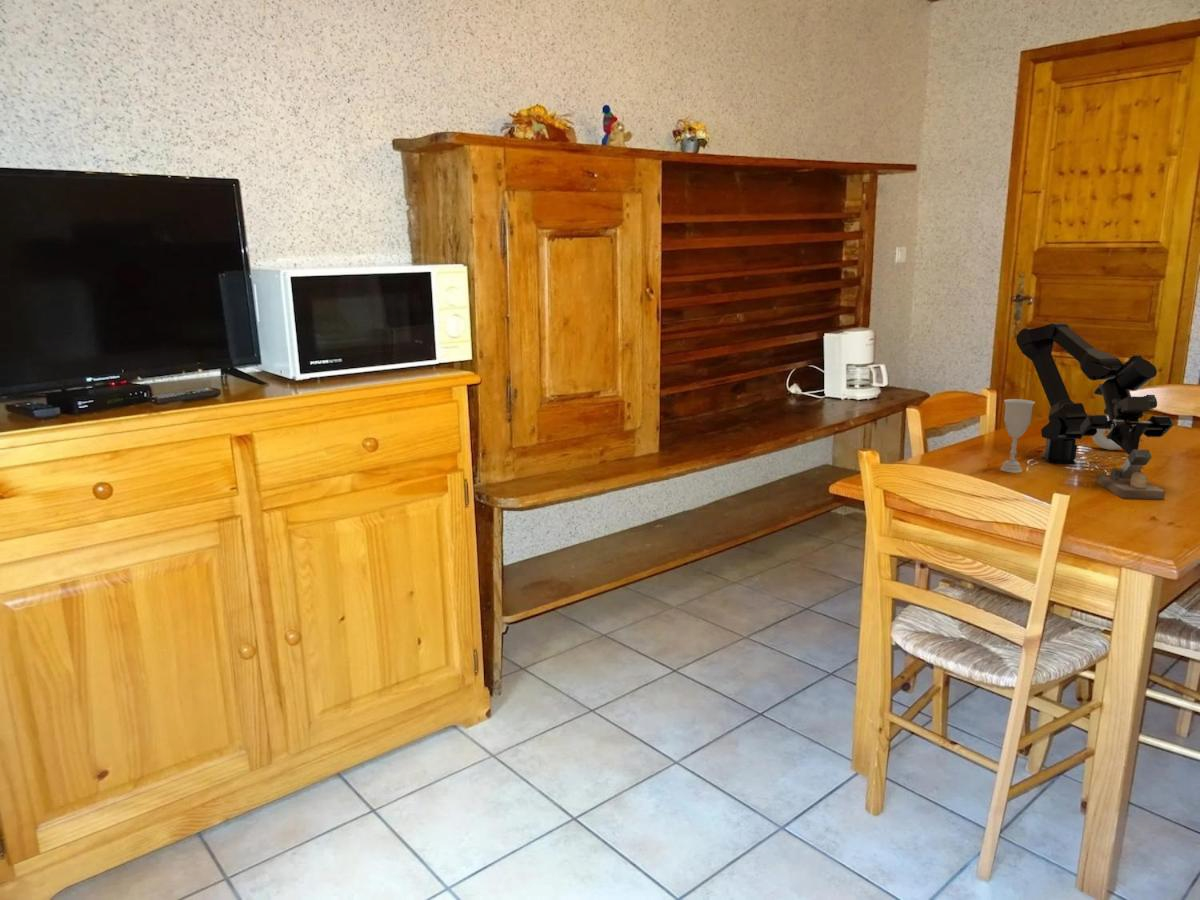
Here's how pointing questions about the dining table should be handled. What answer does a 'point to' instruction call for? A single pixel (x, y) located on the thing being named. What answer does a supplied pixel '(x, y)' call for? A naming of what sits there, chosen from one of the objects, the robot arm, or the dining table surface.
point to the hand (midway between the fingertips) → (1134, 456)
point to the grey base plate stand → (1128, 487)
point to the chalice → (1016, 427)
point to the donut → (1104, 440)
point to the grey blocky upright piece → (1134, 463)
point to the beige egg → (1138, 480)
